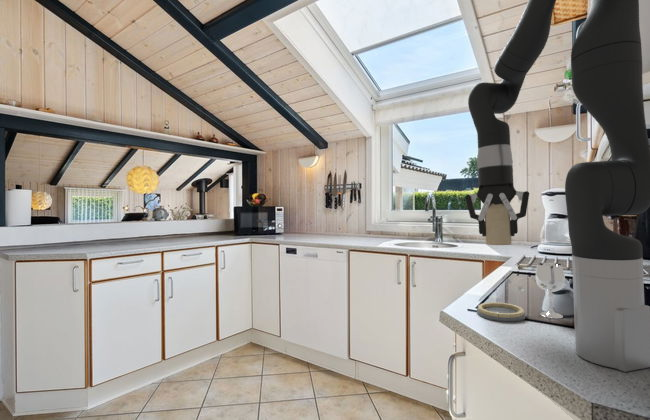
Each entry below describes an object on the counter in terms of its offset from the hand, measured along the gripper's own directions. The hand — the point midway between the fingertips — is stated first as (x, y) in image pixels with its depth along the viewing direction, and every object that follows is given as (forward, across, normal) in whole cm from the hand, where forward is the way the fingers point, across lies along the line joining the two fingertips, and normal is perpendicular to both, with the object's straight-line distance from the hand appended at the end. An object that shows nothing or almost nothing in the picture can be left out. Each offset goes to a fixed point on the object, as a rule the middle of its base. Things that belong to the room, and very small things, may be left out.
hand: (498, 235), depth 82 cm
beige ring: (+19, 0, 0) cm, 19 cm away
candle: (+2, 0, 0) cm, 2 cm away
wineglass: (+19, -10, -4) cm, 22 cm away
